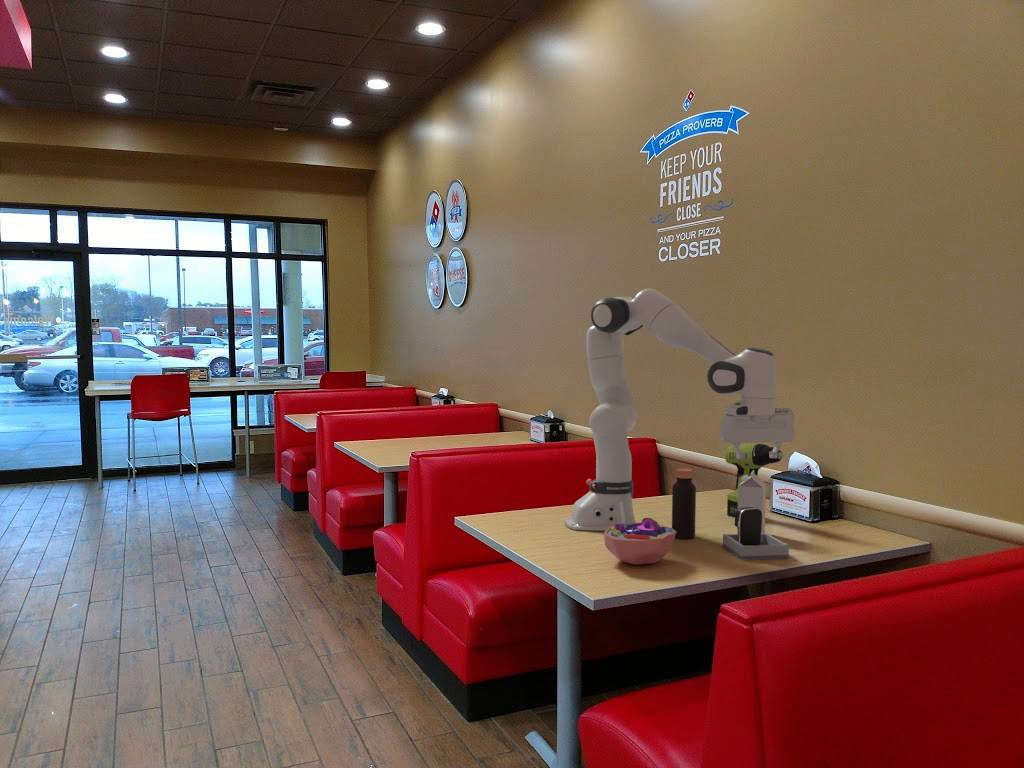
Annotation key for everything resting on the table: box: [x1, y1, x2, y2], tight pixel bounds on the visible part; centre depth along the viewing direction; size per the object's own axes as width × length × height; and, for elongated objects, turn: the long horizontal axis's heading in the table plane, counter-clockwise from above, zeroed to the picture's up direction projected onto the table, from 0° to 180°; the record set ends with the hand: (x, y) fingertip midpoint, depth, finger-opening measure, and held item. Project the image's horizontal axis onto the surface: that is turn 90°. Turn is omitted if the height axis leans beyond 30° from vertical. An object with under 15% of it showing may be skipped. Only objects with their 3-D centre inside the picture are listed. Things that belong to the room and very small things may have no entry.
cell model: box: [603, 517, 676, 566], centre depth 197 cm, size 17×20×11 cm
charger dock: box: [722, 532, 790, 561], centre depth 206 cm, size 13×13×4 cm
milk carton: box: [736, 470, 767, 534], centre depth 225 cm, size 7×7×19 cm
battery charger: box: [734, 507, 762, 546], centre depth 206 cm, size 7×4×11 cm, turn 111°
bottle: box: [671, 468, 697, 540], centre depth 222 cm, size 7×7×20 cm
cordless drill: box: [724, 443, 787, 518], centre depth 242 cm, size 23×7×25 cm, turn 28°
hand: (756, 458), depth 205 cm, fingers open, 8 cm apart
